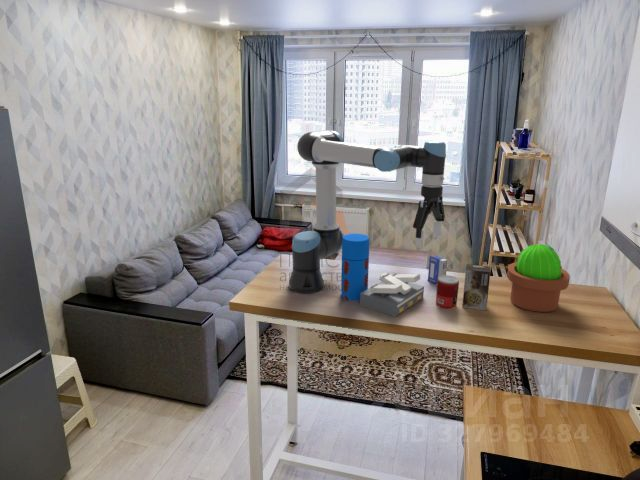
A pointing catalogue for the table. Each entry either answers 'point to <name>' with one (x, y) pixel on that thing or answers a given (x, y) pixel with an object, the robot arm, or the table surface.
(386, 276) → the rocker
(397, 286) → the rocker
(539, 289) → the potted cactus
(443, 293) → the canned food
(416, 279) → the rocker
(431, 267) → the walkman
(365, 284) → the thermos
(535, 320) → the table surface
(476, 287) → the coffee box
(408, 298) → the switch unit
